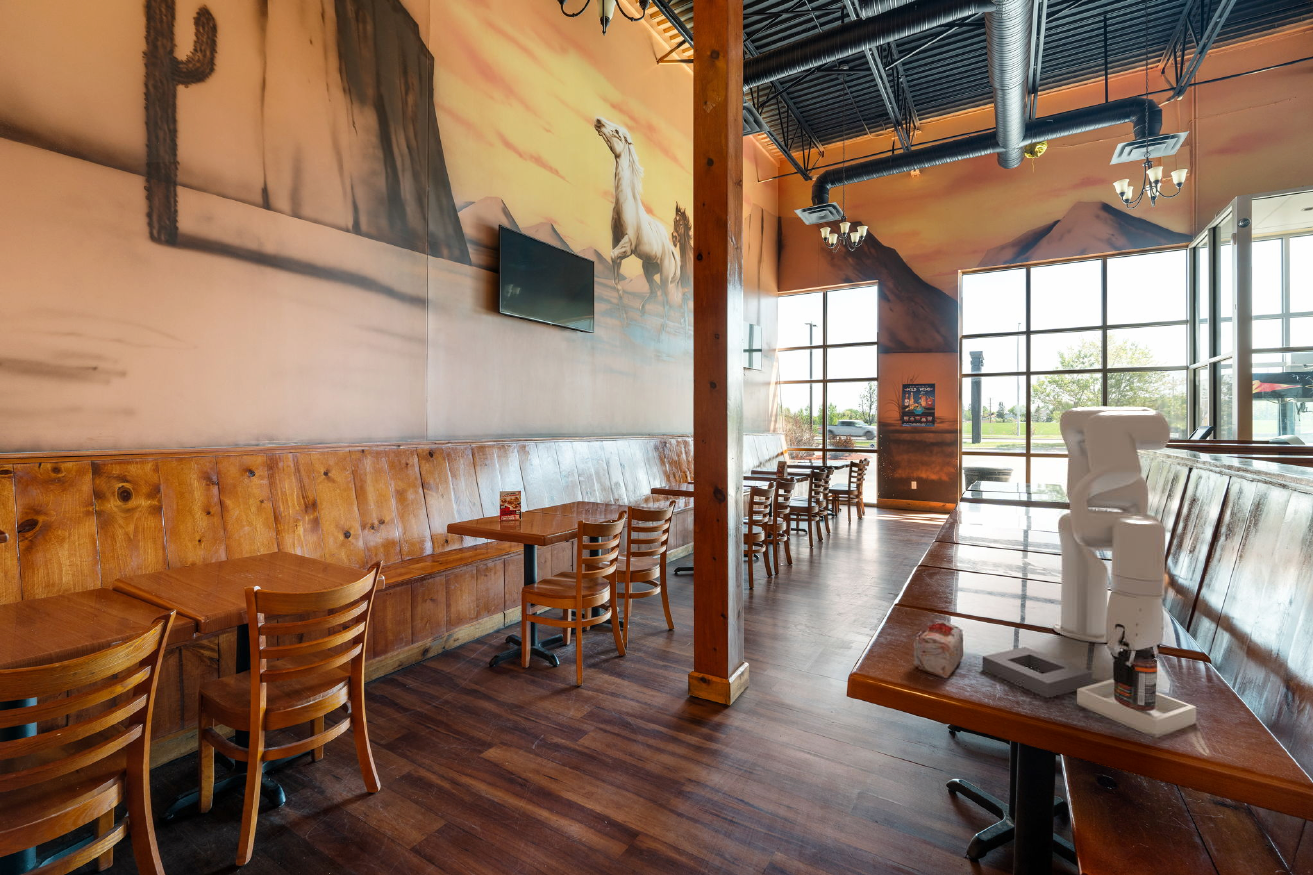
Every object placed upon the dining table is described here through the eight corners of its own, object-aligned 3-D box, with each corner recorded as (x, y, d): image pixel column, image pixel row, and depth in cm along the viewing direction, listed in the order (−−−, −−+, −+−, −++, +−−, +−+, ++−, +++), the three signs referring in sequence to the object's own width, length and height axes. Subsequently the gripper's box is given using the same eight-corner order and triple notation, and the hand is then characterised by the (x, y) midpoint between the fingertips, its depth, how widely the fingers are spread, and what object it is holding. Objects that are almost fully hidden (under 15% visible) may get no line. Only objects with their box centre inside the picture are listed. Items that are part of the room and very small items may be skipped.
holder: (1024, 659, 129) (1025, 646, 129) (1092, 685, 116) (1092, 671, 116) (982, 669, 123) (982, 656, 123) (1048, 698, 111) (1048, 683, 110)
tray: (1116, 692, 113) (1116, 677, 113) (1196, 723, 101) (1196, 706, 101) (1076, 704, 108) (1077, 688, 108) (1155, 737, 97) (1156, 720, 96)
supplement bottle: (1105, 697, 108) (1107, 638, 107) (1133, 696, 108) (1135, 638, 108) (1134, 713, 102) (1136, 651, 102) (1164, 712, 102) (1166, 650, 102)
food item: (951, 683, 117) (951, 636, 117) (910, 672, 122) (911, 627, 122) (965, 662, 128) (966, 619, 127) (928, 653, 133) (928, 611, 133)
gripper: (1140, 575, 111) (1138, 665, 112) (1085, 585, 105) (1084, 680, 105) (1188, 585, 104) (1185, 681, 105) (1133, 596, 98) (1130, 698, 98)
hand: (1134, 680), depth 105 cm, fingers open, 6 cm apart
